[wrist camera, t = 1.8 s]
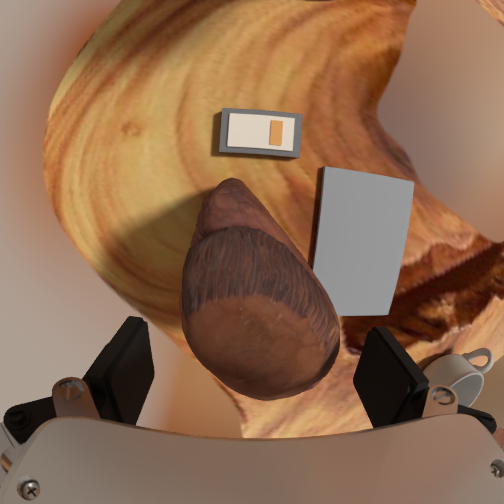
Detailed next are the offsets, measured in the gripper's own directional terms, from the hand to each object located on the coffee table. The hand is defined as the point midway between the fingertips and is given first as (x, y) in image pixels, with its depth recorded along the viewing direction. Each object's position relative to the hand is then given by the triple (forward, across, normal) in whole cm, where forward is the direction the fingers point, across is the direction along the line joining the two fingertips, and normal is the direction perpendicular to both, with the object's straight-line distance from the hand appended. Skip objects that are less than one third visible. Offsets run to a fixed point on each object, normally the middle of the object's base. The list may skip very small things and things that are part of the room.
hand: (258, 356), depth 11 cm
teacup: (+17, -31, +17) cm, 39 cm away
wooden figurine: (+16, 0, -1) cm, 17 cm away
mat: (+16, -11, -1) cm, 20 cm away
